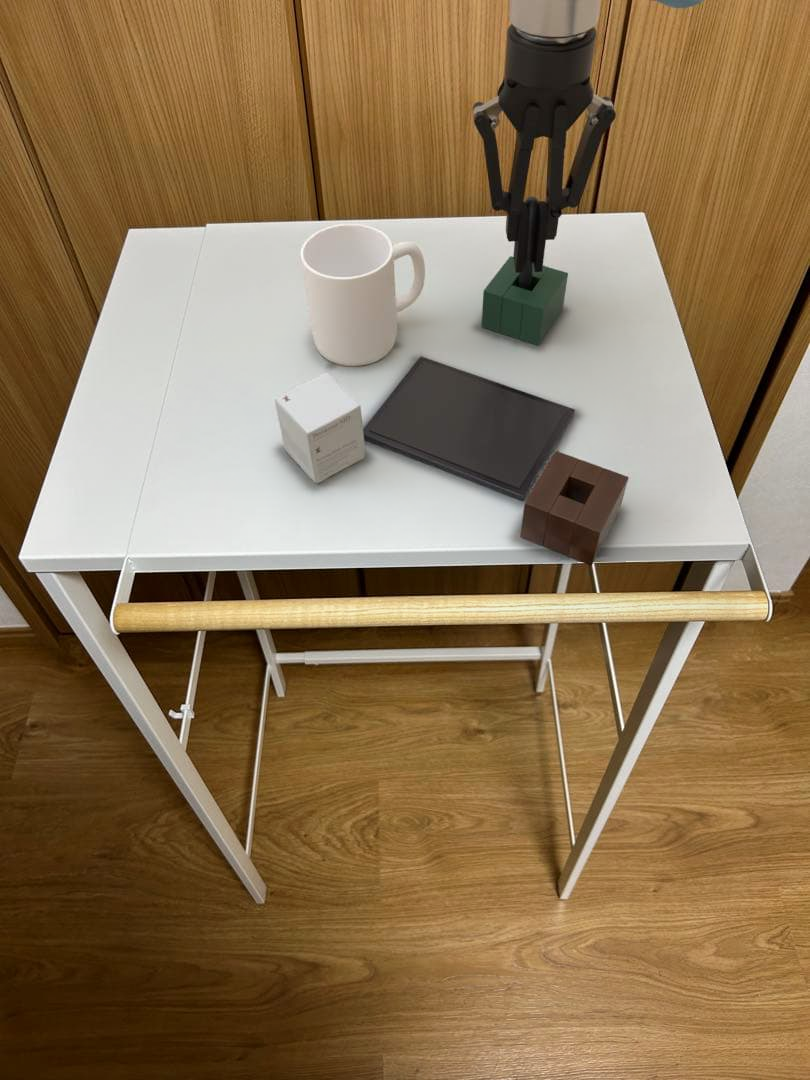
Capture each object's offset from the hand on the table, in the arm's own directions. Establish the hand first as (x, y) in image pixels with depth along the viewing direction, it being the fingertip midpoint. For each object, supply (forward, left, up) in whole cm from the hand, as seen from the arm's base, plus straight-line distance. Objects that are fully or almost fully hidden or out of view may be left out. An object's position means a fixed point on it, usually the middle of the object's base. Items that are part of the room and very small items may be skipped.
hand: (527, 264), depth 89 cm
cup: (+14, +10, -7) cm, 19 cm away
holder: (-16, +25, -7) cm, 31 cm away
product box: (+9, +28, -7) cm, 30 cm away
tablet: (-2, +18, -7) cm, 20 cm away
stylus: (0, 0, -7) cm, 7 cm away
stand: (0, 0, -7) cm, 7 cm away
